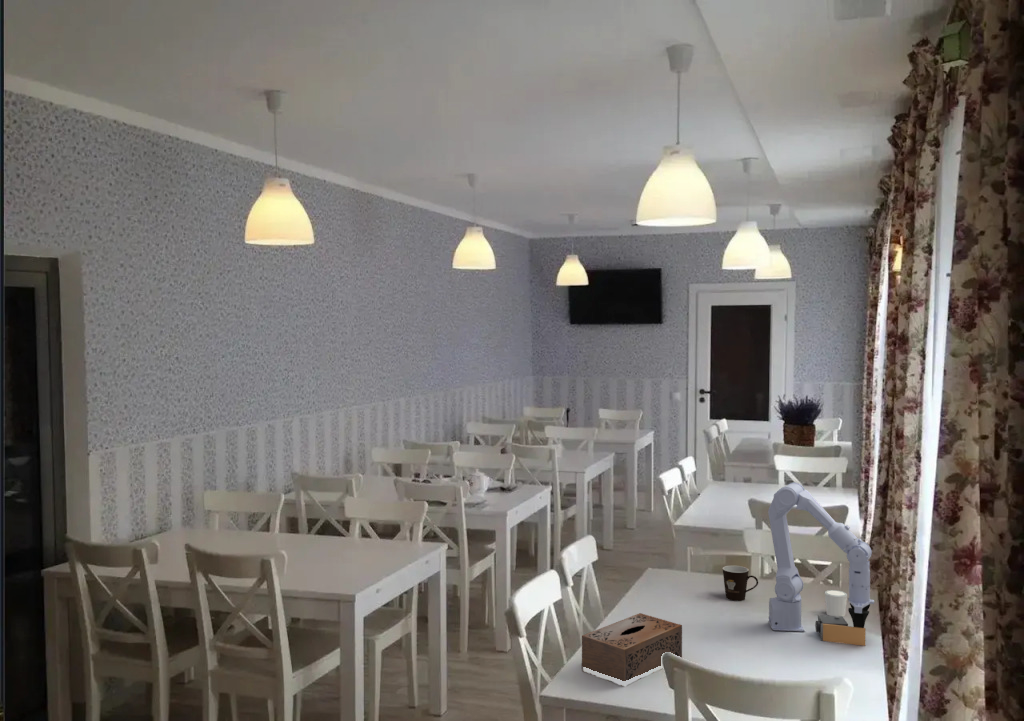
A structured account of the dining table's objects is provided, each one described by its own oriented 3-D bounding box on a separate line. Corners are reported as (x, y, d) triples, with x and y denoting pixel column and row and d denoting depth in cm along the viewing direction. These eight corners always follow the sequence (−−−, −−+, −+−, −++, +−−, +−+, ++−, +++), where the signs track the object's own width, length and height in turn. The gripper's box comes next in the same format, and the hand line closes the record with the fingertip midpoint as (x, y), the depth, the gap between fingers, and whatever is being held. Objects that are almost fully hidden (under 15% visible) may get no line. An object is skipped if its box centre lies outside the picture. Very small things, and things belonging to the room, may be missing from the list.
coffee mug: (717, 596, 298) (717, 567, 297) (737, 592, 301) (737, 564, 301) (739, 606, 287) (739, 576, 287) (760, 602, 291) (760, 572, 291)
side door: (820, 640, 255) (820, 624, 255) (820, 639, 256) (820, 623, 256) (865, 645, 251) (865, 628, 251) (865, 645, 252) (865, 627, 252)
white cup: (843, 611, 282) (843, 589, 281) (849, 618, 275) (850, 596, 275) (821, 610, 282) (822, 589, 282) (827, 617, 276) (827, 595, 275)
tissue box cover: (640, 647, 252) (640, 613, 252) (681, 660, 242) (682, 625, 241) (581, 672, 234) (581, 635, 234) (624, 688, 224) (624, 649, 223)
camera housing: (818, 639, 256) (819, 621, 256) (813, 631, 263) (814, 613, 263) (847, 641, 255) (848, 622, 255) (842, 632, 262) (842, 614, 262)
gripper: (873, 592, 247) (873, 640, 247) (874, 579, 260) (874, 624, 260) (846, 590, 250) (846, 636, 250) (849, 576, 263) (849, 621, 263)
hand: (859, 630), depth 256 cm, fingers open, 5 cm apart
